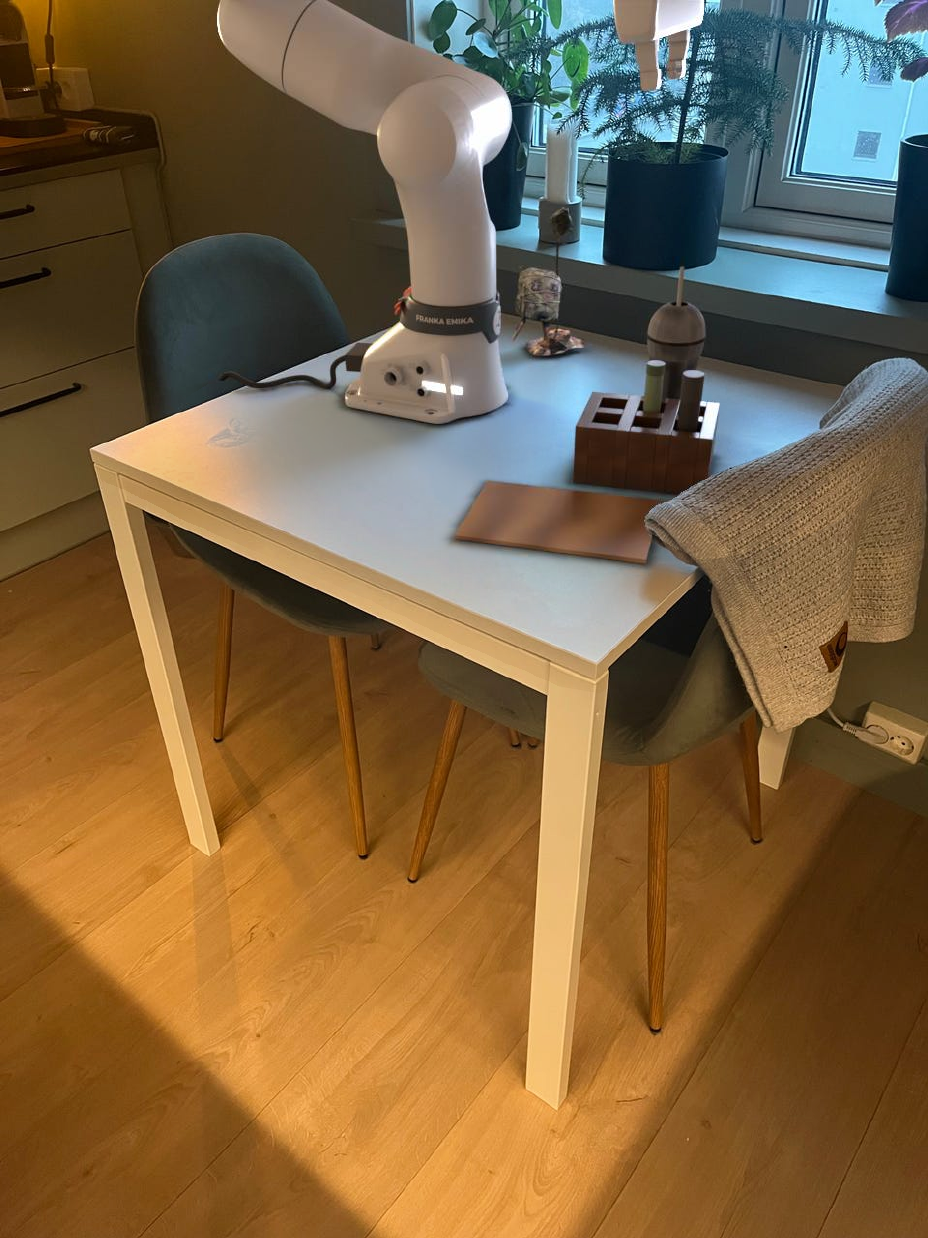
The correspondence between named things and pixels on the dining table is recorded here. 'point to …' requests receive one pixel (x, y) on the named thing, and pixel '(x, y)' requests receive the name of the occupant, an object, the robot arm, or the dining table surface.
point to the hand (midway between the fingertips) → (663, 83)
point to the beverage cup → (676, 340)
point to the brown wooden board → (560, 521)
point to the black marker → (690, 400)
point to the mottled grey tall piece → (545, 298)
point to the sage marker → (653, 386)
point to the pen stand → (642, 444)
